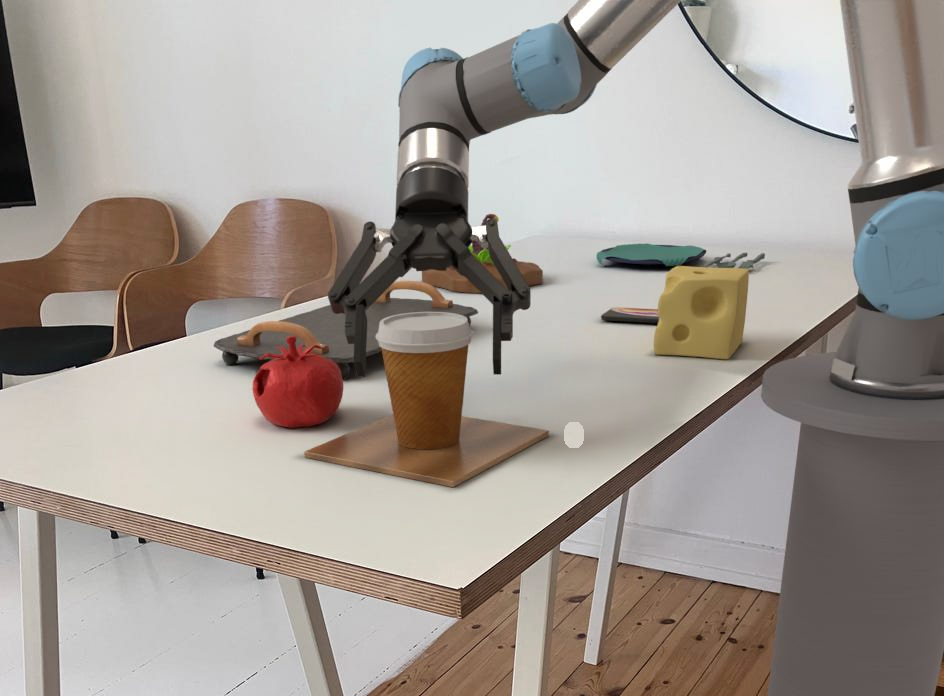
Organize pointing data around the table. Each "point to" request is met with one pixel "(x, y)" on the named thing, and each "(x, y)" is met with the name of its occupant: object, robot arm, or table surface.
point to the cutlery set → (667, 255)
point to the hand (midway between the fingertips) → (427, 368)
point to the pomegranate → (298, 387)
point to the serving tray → (333, 328)
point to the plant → (462, 284)
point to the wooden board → (429, 450)
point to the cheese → (702, 312)
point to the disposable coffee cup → (426, 375)
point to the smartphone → (631, 315)
